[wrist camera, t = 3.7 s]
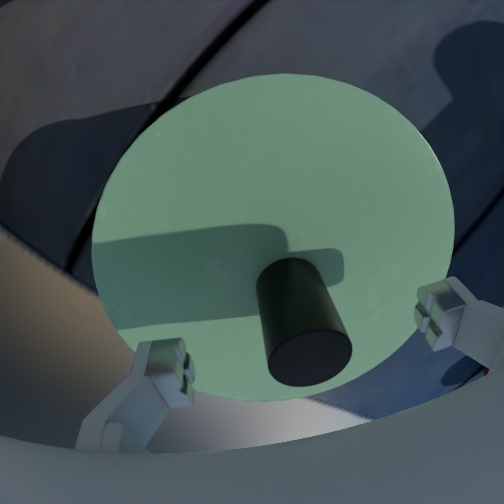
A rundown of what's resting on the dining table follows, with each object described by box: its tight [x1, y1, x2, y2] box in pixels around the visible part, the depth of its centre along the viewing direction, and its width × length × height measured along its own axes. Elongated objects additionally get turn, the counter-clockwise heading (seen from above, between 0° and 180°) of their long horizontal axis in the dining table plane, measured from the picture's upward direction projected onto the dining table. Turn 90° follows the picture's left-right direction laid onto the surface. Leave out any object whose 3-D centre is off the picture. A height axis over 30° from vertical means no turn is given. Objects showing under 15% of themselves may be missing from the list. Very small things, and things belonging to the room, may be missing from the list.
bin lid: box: [91, 73, 455, 402], centre depth 11 cm, size 16×16×5 cm
